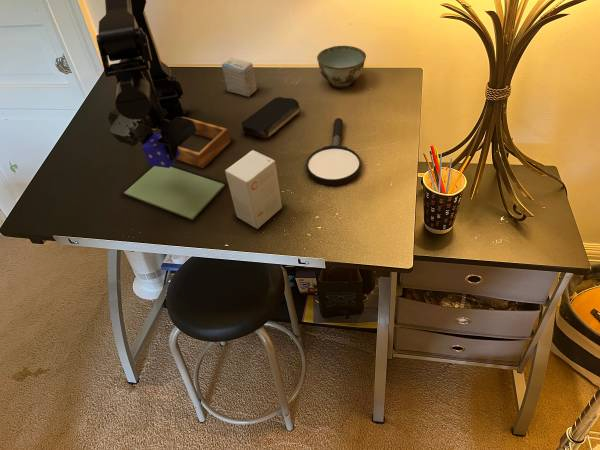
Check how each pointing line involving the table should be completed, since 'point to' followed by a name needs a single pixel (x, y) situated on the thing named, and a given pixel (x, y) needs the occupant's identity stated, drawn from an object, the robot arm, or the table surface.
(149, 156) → the die
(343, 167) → the magnifying glass
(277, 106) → the black sponge
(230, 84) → the medicine box
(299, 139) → the table surface
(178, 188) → the mat
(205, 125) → the pine box
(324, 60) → the bowl
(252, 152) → the small box
